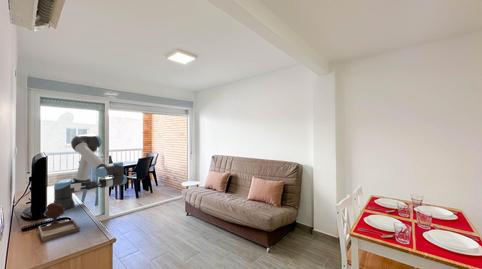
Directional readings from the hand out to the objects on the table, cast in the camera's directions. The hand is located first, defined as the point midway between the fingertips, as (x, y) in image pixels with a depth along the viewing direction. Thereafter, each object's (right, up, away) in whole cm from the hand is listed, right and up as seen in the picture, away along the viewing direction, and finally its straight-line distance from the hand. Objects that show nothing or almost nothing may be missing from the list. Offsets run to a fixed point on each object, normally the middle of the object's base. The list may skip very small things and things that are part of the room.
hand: (72, 187), depth 154 cm
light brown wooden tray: (+7, -24, -19) cm, 31 cm away
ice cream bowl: (-7, -24, -7) cm, 26 cm away
